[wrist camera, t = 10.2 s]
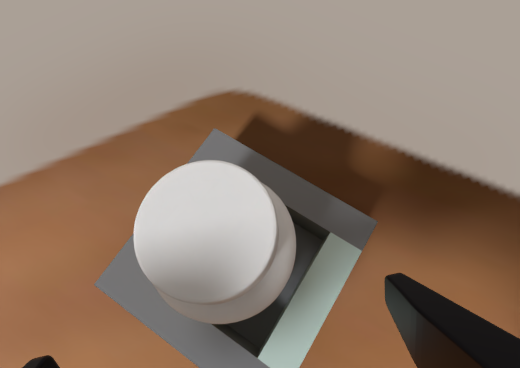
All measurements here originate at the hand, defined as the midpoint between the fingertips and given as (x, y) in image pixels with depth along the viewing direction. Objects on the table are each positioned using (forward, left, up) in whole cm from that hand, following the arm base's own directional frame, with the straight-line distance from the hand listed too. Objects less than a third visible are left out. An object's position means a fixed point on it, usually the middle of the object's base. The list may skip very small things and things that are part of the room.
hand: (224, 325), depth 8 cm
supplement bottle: (+2, +2, -9) cm, 9 cm away
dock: (+2, +2, -10) cm, 10 cm away
